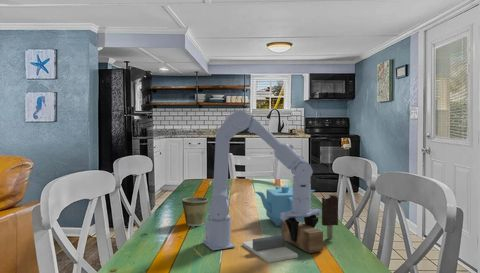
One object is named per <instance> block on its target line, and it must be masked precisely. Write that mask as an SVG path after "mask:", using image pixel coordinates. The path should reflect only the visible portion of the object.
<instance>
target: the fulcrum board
mask: <svg viewBox="0 0 480 273" xmlns="http://www.w3.org/2000/svg"><path fill="white" fill-rule="evenodd" d="M241 246H243V247H244V248H246V249H247V250H249V251H250V252H252V254H255V255H256V256H257V257H259V258H260V259H262V260H263V261H265V262H266V263H274V262H279V261H280V262H281V261H286V260H292V259H296V258H299V253H297V252H295V251H293V250H291V249H290V248H288V247H286V241H285V237H283V236H282V234H279V235H274V236H266V237H259V238H254V239H253V238H252V240H248V241H242V245H241Z"/></svg>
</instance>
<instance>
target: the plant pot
mask: <svg viewBox="0 0 480 273" xmlns="http://www.w3.org/2000/svg"><path fill="white" fill-rule="evenodd" d="M181 201H182V202H181V204H182V208H183V214H184V219H185V224H186V226H187V225H188V226H187V227H189V226H199V227H202V226H204V225H205V222H206V220H205V219H206V214H207V209H208V203H209V199H208V198H206V197H203V196H202V197H201V196H191V197H184V198H182V200H181ZM203 224H204V225H203ZM201 225H202V226H201Z"/></svg>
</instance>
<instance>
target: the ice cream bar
mask: <svg viewBox="0 0 480 273" xmlns="http://www.w3.org/2000/svg"><path fill="white" fill-rule="evenodd" d="M321 210H322V216H321V225H322V226H323V227H325V226H326V228H327V230H326V233H327V234H326V237H327V239H328V240H331V239H332V238H333V229H334V228H333V226H338V225H339V197H338V196H337V195H335V194H329V195H328V197H321Z"/></svg>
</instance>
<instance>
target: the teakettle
mask: <svg viewBox="0 0 480 273" xmlns="http://www.w3.org/2000/svg"><path fill="white" fill-rule="evenodd" d="M315 191H316V190H315V189H311V194H312V193H314V192H315ZM254 193H255V194H257V195H258V196H259V197H260V199H261V203H262V206H263V208H264V209H265V210H266V217H267V218H268V219H269V220H270V222H273V223H274V224H275V225H274V227H282V221H284V220H282V219H281V213H284V212H288V211H292V210H293V188H290V186H286V185H285V186H284V185H283V186H279V185H275V188H273V189H271V188H269V189H266V195H265V193H264V192H262V191H254ZM295 219H296V220H297V221H299V222H302V223H304V224H305V221H304V217H301V218H295Z"/></svg>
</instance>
